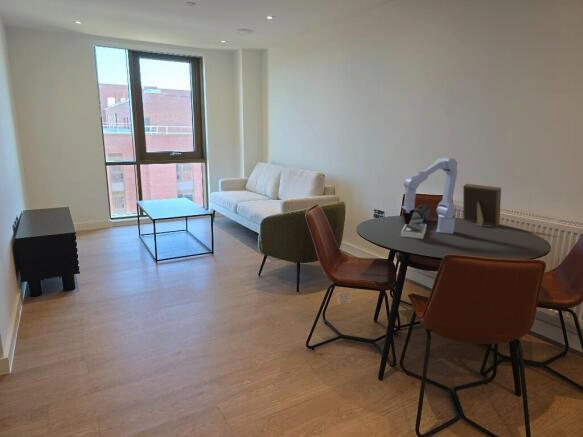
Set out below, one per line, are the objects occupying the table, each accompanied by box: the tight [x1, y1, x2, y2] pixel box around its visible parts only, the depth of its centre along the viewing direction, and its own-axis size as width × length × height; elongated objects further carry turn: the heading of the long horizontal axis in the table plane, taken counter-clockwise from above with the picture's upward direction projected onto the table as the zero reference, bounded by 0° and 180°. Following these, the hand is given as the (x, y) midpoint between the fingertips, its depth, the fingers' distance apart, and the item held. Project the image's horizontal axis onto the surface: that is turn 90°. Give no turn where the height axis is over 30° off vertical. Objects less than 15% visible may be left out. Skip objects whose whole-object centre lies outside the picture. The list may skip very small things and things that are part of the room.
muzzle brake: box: [411, 204, 431, 221], centre depth 258 cm, size 10×28×10 cm, turn 151°
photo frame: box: [462, 183, 502, 228], centre depth 256 cm, size 15×22×25 cm
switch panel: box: [400, 222, 427, 240], centre depth 233 cm, size 12×24×4 cm, turn 158°
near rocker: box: [406, 222, 422, 232], centre depth 227 cm, size 8×9×2 cm
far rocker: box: [411, 219, 424, 225], centre depth 237 cm, size 8×9×2 cm
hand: (407, 222), depth 228 cm, fingers open, 7 cm apart
